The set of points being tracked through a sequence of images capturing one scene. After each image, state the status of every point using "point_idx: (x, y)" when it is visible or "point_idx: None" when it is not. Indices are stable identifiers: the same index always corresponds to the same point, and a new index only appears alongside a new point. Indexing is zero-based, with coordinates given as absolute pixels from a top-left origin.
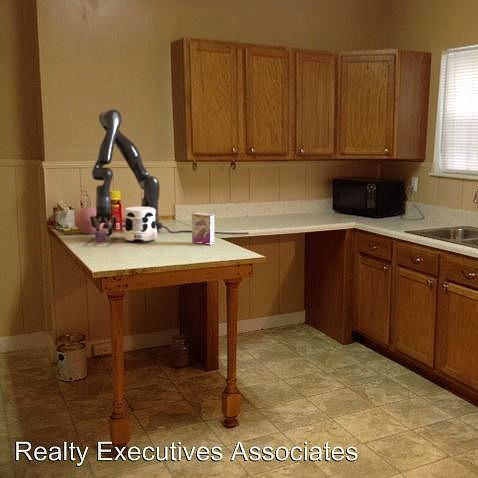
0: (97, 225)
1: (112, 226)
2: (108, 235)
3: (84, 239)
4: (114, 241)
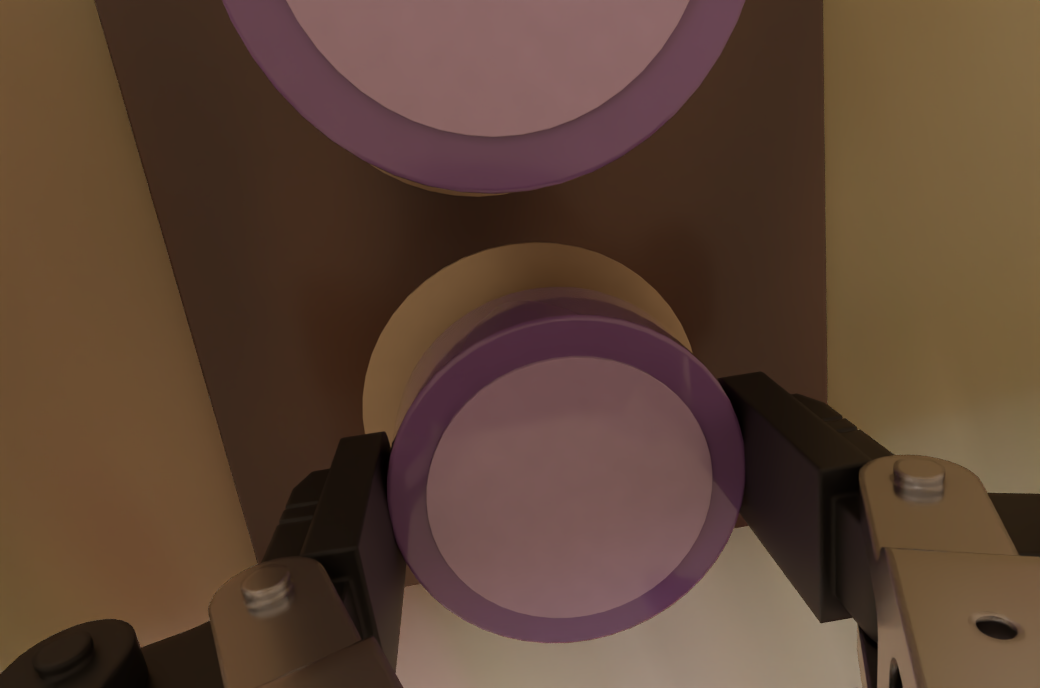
0: (942, 540)
1: (115, 658)
2: (397, 422)
3: (1029, 289)
4: (148, 222)
